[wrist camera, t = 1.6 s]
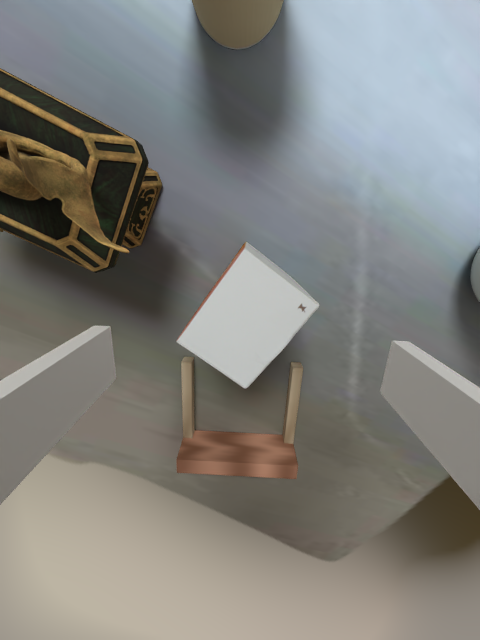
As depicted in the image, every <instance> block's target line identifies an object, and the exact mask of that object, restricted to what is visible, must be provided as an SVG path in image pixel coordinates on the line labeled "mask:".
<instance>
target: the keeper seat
mask: <svg viewBox="0 0 480 640" xmlns="http://www.w3.org/2000/svg"><path fill="white" fill-rule="evenodd" d="M181 368H182V408H183V440H182V444H181V447H180V450H179V453H178V456H177V473H194V474H213V475H231V476H250V477H268V478H287V479H296V478H297V471H298V463H297V459H296V454H295V450H294V445H293V441H294V434H295V426H296V419H297V411H298V403H299V396H300V388H301V381H302V373H303V367H302V365H301V363H299V362H291V366H290V374H289V383H288V392H287V400H286V409H285V417H284V426H283V435H273V434H255V433H236V432H217V431H198V430H194V357H184V358H183V360H182V362H181Z"/></svg>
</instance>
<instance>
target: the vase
mask: <svg viewBox="0 0 480 640" xmlns="http://www.w3.org/2000/svg"><path fill="white" fill-rule="evenodd" d="M470 280H471V285H472V289H473V292H474V294H475V296H476V298H477V299H478V301H479V302H480V248H479V249H478V251H477V253H476V255H475V257H474V260H473V263H472V266H471V273H470Z"/></svg>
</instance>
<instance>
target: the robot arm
mask: <svg viewBox="0 0 480 640" xmlns="http://www.w3.org/2000/svg"><path fill="white" fill-rule="evenodd" d="M115 379H116V371H115V362H114V353H113V344H112V335H111V326H93V327H91V328H89V329H88V330H86V331H84V332H82V333H81V334H79V335H77V336H76V337H74V338H72V339H71V340H69V341H67V342H65V343H64V344H62V345H60V346H59V347H57V348H55V349H53V350H52V351H50V352H48V353H47V354H45V355H43V356H41V357H40V358H38V359H36V360H35V361H33V362H31V363H30V364H28V365H26V366H24V367H23V368H21V369H19V370H18V371H16V372H14V373H12V374H11V375H9V376H7V377H6V378H4V379H1V380H0V505H1V503H2V502H3V501H4V500H5V499H6V498H7V497H8V496H9V495H10V493H11V492H12V491H13V490H14V489H15V488H16V487H17V486H18V485H19V484H20V483H21V482H22V481H23V479H24V478H25V477H26V476H27V475H28V474H29V473H30V472H31V471H32V470H33V469H34V467H35V466H36V465H37V464H38V463H39V462H40V461H41V460H42V459H43V458H44V457H45V456H46V454H47V453H48V452H49V451H50V450H51V449H52V448H53V447H54V446H55V445H56V444H57V442H58V441H59V440H60V439H61V438H62V437H63V436H64V435H65V434H66V433H67V432H68V430H69V429H70V428H71V427H72V426H73V425H74V424H75V423H76V422H77V421H78V420H79V419H80V417H81V416H82V415H83V414H84V413H85V412H86V411H87V410H88V409H89V408H90V407H91V405H92V404H93V403H94V402H95V401H96V400H97V399H98V398H99V397H100V396H101V395H102V393H103V392H104V391H105V390H106V389H107V388H108V387H109V386H110V385H111V384H112V383H113V382H114V380H115ZM380 393H381V394H382V395H383V397H384V398H385V399H386V400H387V401H388V403H389V404H390V405H391V406H392V407H393V408H394V410H395V411H396V412H397V413H398V414H399V415H400V417H401V418H402V419H403V420H404V421H405V423H406V424H407V425H408V426H409V427H410V428H411V430H412V431H413V432H414V433H415V434H416V435H417V437H418V438H419V439H420V440H421V441H422V443H423V444H424V445H425V446H426V447H427V448H428V450H429V451H430V452H431V453H432V454H433V455H434V457H435V458H436V459H437V460H438V461H439V463H440V464H441V465H442V466H443V467H444V468H445V470H446V471H447V472H448V473H449V474H450V475H451V477H452V478H453V479H454V480H455V481H456V482H457V484H458V485H459V486H460V487H461V488H462V490H463V491H464V492H465V493H466V494H467V495H468V497H469V498H470V499H471V500H472V501H473V503H474V504H475V505H476V506H477V507H478V508H479V510H480V388H479V387H478V386H476V385H475V384H473V383H472V382H470V381H469V380H467V379H465V378H464V377H462V376H461V375H459V374H458V373H456V372H455V371H453V370H452V369H450V368H449V367H447V366H446V365H444V364H442V363H441V362H439V361H438V360H436V359H435V358H433V357H432V356H430V355H429V354H427V353H426V352H424V351H423V350H421V349H419V348H418V347H416V346H415V345H413V344H412V343H410V342H408V341H392V343H391V348H390V352H389V356H388V360H387V365H386V369H385V373H384V377H383V381H382V386H381V390H380Z"/></svg>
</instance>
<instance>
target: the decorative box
mask: <svg viewBox="0 0 480 640" xmlns="http://www.w3.org/2000/svg"><path fill="white" fill-rule="evenodd" d="M161 187H162V183H161V180H160V178H159V175H158V173H157V172H156V171H154V170H152V169H150V168H148V159H147V157H146V154H145V152H144V149H143V147H142V145H141V144H140V143H139V142H138V141H136V140H135V139H133V138H131V137H129V136H127V135H125V134H123V133H121V132H120V131H118V130H116V129H114V128H112V127H110V126H108V125H106V124H104V123H103V122H101V121H99V120H97V119H95V118H93V117H91V116H89V115H87V114H86V113H84V112H82V111H80V110H78V109H76V108H74V107H72V106H70V105H69V104H67V103H65V102H63V101H61V100H59V99H57V98H55V97H53V96H52V95H50V94H48V93H46V92H44V91H42V90H40V89H38V88H36V87H35V86H33V85H31V84H29V83H27V82H25V81H23V80H21V79H19V78H18V77H16V76H14V75H12V74H10V73H8V72H6V71H4V70H2V69H1V68H0V231H1V232H3V230H4V231H6V232H8V233H10V234H13V235H15V236H17V237H19V238H21V239H23V240H26V241H28V242H30V243H32V244H34V245H36V246H39V247H41V248H43V249H45V250H47V251H50V252H52V253H54V254H56V255H58V256H60V257H63V258H65V259H67V260H69V261H71V262H73V263H76V264H78V265H80V266H82V267H84V268H87V269H89V270H91V271H93V272H96V273H97V272H100V271H104V270H107V269H109V268H112V267H114V266H115V264H116V261H117V258H118V255H119V252H124V253H129V250H127V249H126V248H123V247H121V246H122V245H124V246H126V247H128V248H134V247H136V246H139V245H141V244H142V241H143V238H144V235H145V233H146V230H147V227H148V224H149V221H150V218H151V216H152V213H153V210H154V207H155V204H156V201H157V199H158V196H159V193H160V190H161Z"/></svg>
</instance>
